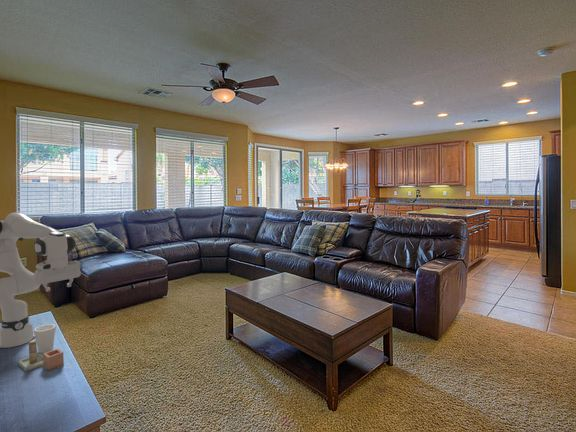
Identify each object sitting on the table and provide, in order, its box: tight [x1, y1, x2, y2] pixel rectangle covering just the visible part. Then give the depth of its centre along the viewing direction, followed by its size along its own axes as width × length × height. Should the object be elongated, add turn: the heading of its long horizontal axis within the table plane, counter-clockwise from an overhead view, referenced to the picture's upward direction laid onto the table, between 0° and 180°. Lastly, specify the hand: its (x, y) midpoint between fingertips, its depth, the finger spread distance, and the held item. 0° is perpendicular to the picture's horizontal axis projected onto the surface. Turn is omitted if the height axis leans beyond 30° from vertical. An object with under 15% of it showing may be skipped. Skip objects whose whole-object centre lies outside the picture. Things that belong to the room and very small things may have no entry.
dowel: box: [28, 339, 38, 364], centre depth 159 cm, size 3×3×11 cm
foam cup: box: [33, 323, 57, 354], centre depth 173 cm, size 10×9×13 cm
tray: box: [17, 352, 44, 373], centre depth 160 cm, size 12×9×2 cm
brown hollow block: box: [42, 348, 65, 372], centre depth 158 cm, size 6×6×7 cm
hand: (58, 288), depth 164 cm, fingers open, 8 cm apart
